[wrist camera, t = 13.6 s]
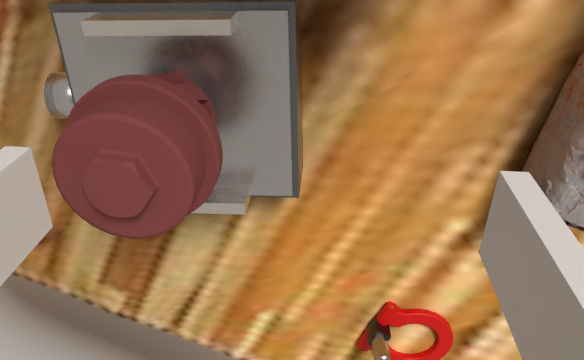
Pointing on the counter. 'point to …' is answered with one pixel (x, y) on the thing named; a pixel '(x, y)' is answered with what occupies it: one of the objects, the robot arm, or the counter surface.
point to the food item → (563, 151)
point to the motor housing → (201, 77)
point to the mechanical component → (139, 154)
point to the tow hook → (397, 317)
